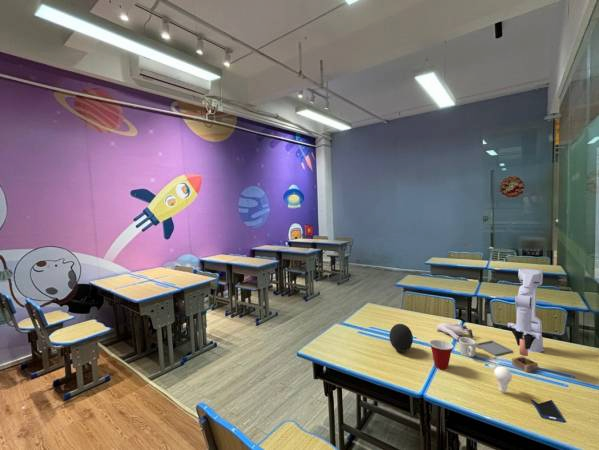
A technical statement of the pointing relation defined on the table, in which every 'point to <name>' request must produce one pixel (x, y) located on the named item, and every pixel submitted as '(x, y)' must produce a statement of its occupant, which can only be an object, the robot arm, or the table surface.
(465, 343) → the cup
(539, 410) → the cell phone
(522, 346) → the pink rounded capsule
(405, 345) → the decorative egg
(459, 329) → the yeti figurine
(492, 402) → the table surface
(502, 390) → the lightbulb
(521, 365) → the holder
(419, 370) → the table surface
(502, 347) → the tray
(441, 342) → the plastic cup
